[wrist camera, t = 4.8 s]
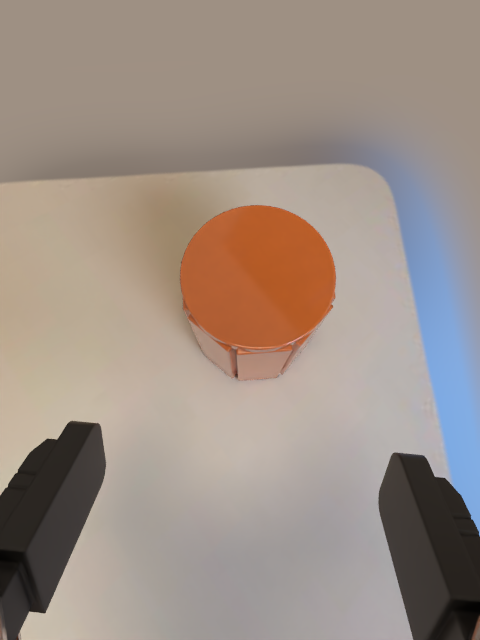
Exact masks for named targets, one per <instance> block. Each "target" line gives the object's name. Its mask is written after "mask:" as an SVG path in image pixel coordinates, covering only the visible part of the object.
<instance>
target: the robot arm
mask: <svg viewBox="0 0 480 640" xmlns="http://www.w3.org/2000/svg"><path fill="white" fill-rule="evenodd" d="M105 468H106V460H105V453H104V446H103V439H102V431H101V426H100V424H98V423H88V422H77V421H70V422H69V423H68V424H67V425H66V427H65V428H64V430H63V432H62V433H61V435H60V436H59V438H58V440H56V439H46V440H45V441H44V442H43V443H41V444H40V445H39V446H38V447H36V448H35V449H34V450H33V451H31V452H30V453H29V455H28V456H27V458H26V459H25V460H24V462H23V463H22V465H21V466H20V468H19V469H18V473H16V474H15V475H14V477H13V478H12V479H11V481H10V482H9V484H8V487H7V488H5V490H4V491H3V493H2V494H1V495H0V640H21V634H20V630H21V627H22V625H23V623H24V621H25V619H26V617H27V615H28V613H29V611H30V612H39V613H46V610H47V608H48V606H49V604H50V601H51V599H52V597H53V594H54V592H55V590H56V588H57V585H58V583H59V581H60V579H61V576H62V574H63V572H64V569H65V567H66V565H67V563H68V560H69V558H70V556H71V554H72V551H73V549H74V547H75V544H76V542H77V540H78V538H79V535H80V533H81V531H82V529H83V526H84V524H85V522H86V519H87V517H88V515H89V513H90V510H91V508H92V506H93V504H94V501H95V499H96V497H97V494H98V492H99V490H100V488H101V485H102V482H103V479H104V475H105ZM379 511H380V516H381V520H382V523H383V527H384V531H385V535H386V538H387V542H388V546H389V550H390V553H391V557H392V561H393V565H394V568H395V572H396V576H397V580H398V583H399V587H400V591H401V595H402V598H403V602H404V606H405V609H406V613H407V617H408V621H409V624H410V628H411V632H412V636H413V639H414V640H480V536H479V531H478V530H477V527H476V525H475V523H474V521H473V520H471V515H470V513H469V511H468V509H467V507H466V505H465V503H464V501H463V499H462V497H461V495H460V494H459V493H458V492H457V491H456V490H455V489H454V487H453V486H452V485H451V484H450V483H449V482H448V481H447V480H446V479H445V478H439V477H435V476H434V474H433V472H432V470H431V467H430V465H429V463H428V461H427V459H426V457H424V456H423V455H415V454H404V453H393V454H392V456H391V458H390V461H389V464H388V467H387V470H386V473H385V476H384V479H383V482H382V484H381V487H380V491H379Z"/></svg>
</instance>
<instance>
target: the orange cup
mask: <svg viewBox="0 0 480 640" xmlns="http://www.w3.org/2000/svg"><path fill="white" fill-rule="evenodd" d="M180 283H181V291H182V294H183V310H184V312H185V314H186V316H187V319H188V321H189V323H190V325H191V327H192V330H193V332H194V334H195V336H196V338H197V341H198V343H199V345H200V347H201V349H202V351H203V353H204V355H205V356H206V357H207V358H208V359H209V360H211V361H212V362H213V363H214V364H215V365H217V366H218V367H219V368H220V369H221V370H222V371H224V372H225V373H226V374H227V375H228V376H229V377H231V378H232V379H233V378H234V377H235V375H236V374H237V373H238V380H239V381H243V380H255V379H268V378H276V377H277V376H278V374H279V373H280V374H283V373H284V372H285V371H286V370H287V369H288V367H289V366H290V365H291V364H292V363H293V361H294V360H295V359H296V358H297V356H298V355H299V354H300V353H301V352H302V350H303V349H304V348H305V347H306V345H307V344H308V342H309V341H310V340H311V338H312V337H313V335H314V334H315V332H316V331H317V329H318V328H319V327H320V325H321V324H322V322H323V321H324V319H325V318H326V317H327V315H328V314H329V312H330V311H331V309H332V308H333V305H332V302H333V301H334V299H335V285H336V273H335V266H334V261H333V258H332V255H331V252H330V250H329V248H328V246H327V244H326V242H325V241H324V239H323V238H322V237H321V235H320V234H319V233H318V232H317V231H316V230H315V229H314V228H313V227H312V226H311V225H310V224H309V223H308V222H306V221H305V220H304V219H302V218H300V217H299V216H297V215H295V214H293V213H291V212H289V211H286V210H283V209H280V208H276V207H271V206H262V205H251V206H243V207H238V208H234V209H231V210H229V211H226V212H223V213H221V214H220V215H218V216H216V217H214V218H213V219H211V220H210V221H208V222H207V223H206V224H205V225H204V226H203V227H201V228H200V229H199V231H198V232H197V233H196V234H195V235H194V237H193V238H192V240H191V241H190V243H189V244H188V246H187V249H186V251H185V253H184V256H183V259H182V262H181V270H180Z"/></svg>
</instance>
